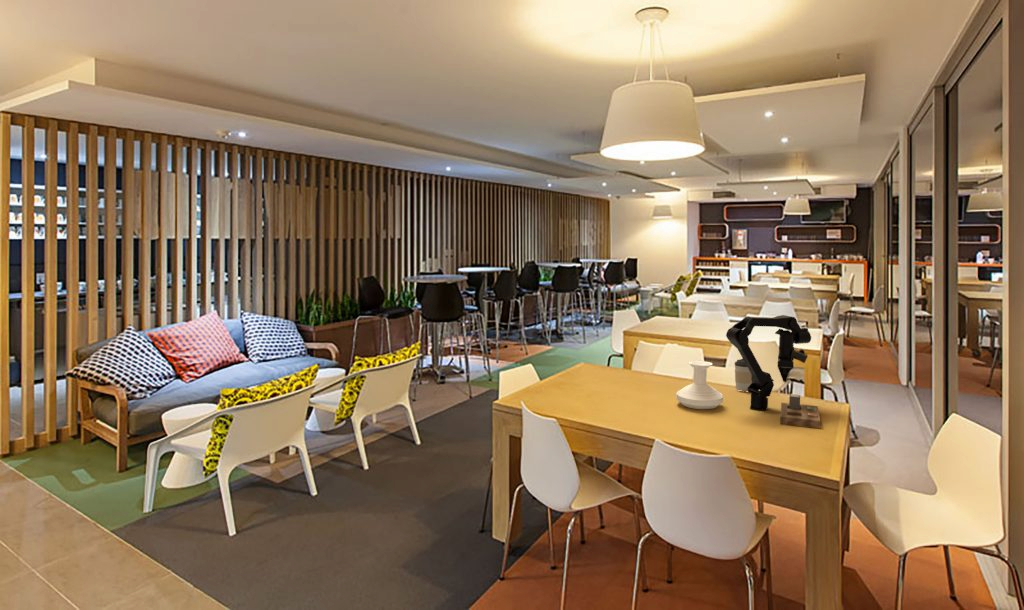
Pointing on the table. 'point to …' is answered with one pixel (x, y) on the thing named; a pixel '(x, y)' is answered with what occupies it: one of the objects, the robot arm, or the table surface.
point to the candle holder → (699, 389)
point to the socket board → (800, 416)
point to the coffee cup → (742, 375)
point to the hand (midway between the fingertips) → (784, 379)
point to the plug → (794, 401)
